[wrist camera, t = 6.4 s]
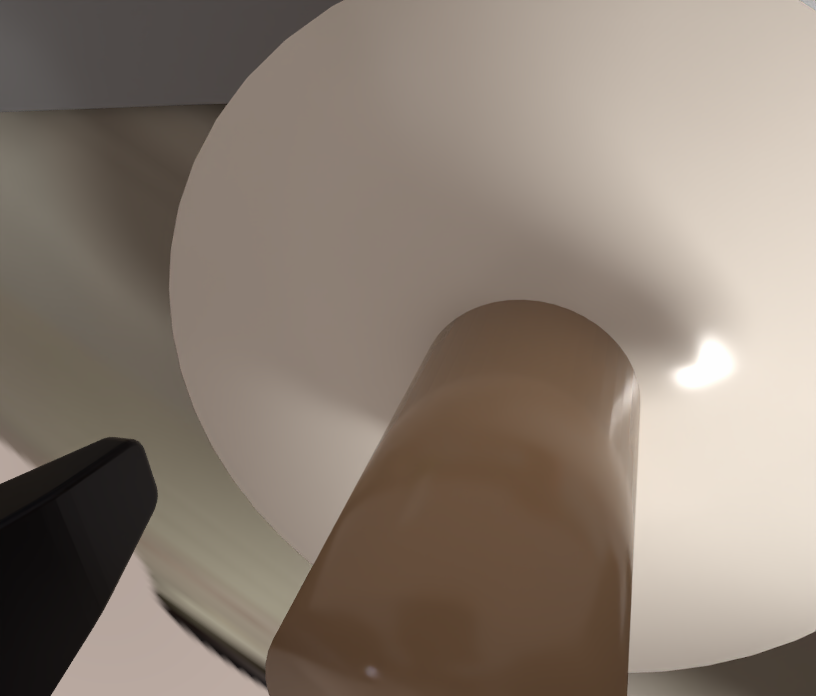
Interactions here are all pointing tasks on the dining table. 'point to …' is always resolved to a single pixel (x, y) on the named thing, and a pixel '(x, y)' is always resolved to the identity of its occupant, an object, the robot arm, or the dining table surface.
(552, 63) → the lid
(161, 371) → the dining table surface
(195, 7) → the mat
